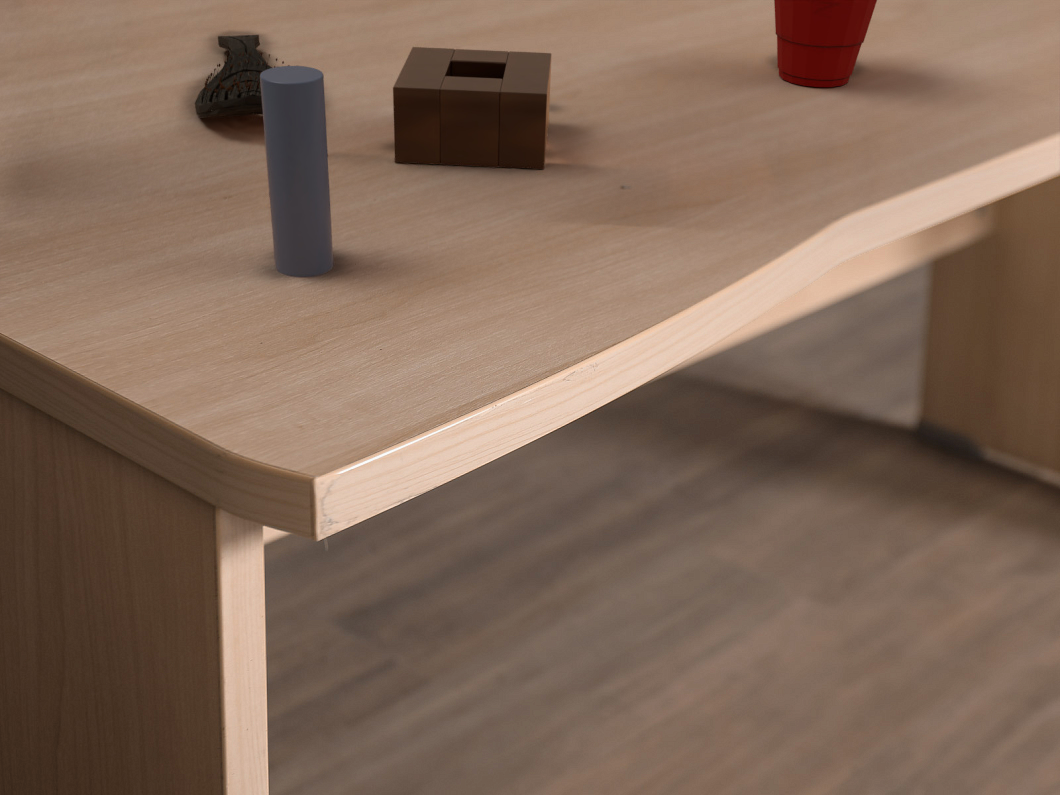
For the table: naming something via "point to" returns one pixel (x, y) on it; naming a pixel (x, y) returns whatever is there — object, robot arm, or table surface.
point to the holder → (472, 108)
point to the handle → (297, 169)
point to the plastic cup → (820, 39)
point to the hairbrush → (235, 80)
